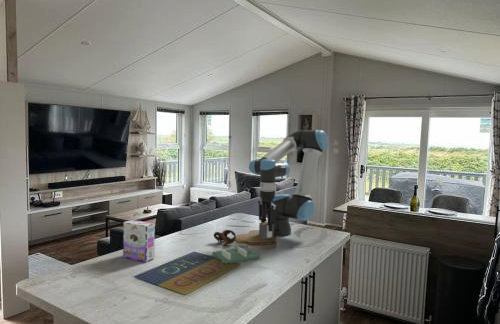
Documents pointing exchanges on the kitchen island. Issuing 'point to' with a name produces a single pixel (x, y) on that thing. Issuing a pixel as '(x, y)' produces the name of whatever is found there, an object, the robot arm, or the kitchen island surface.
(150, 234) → the candy box
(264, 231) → the plug
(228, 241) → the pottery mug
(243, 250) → the header board
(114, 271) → the kitchen island surface
